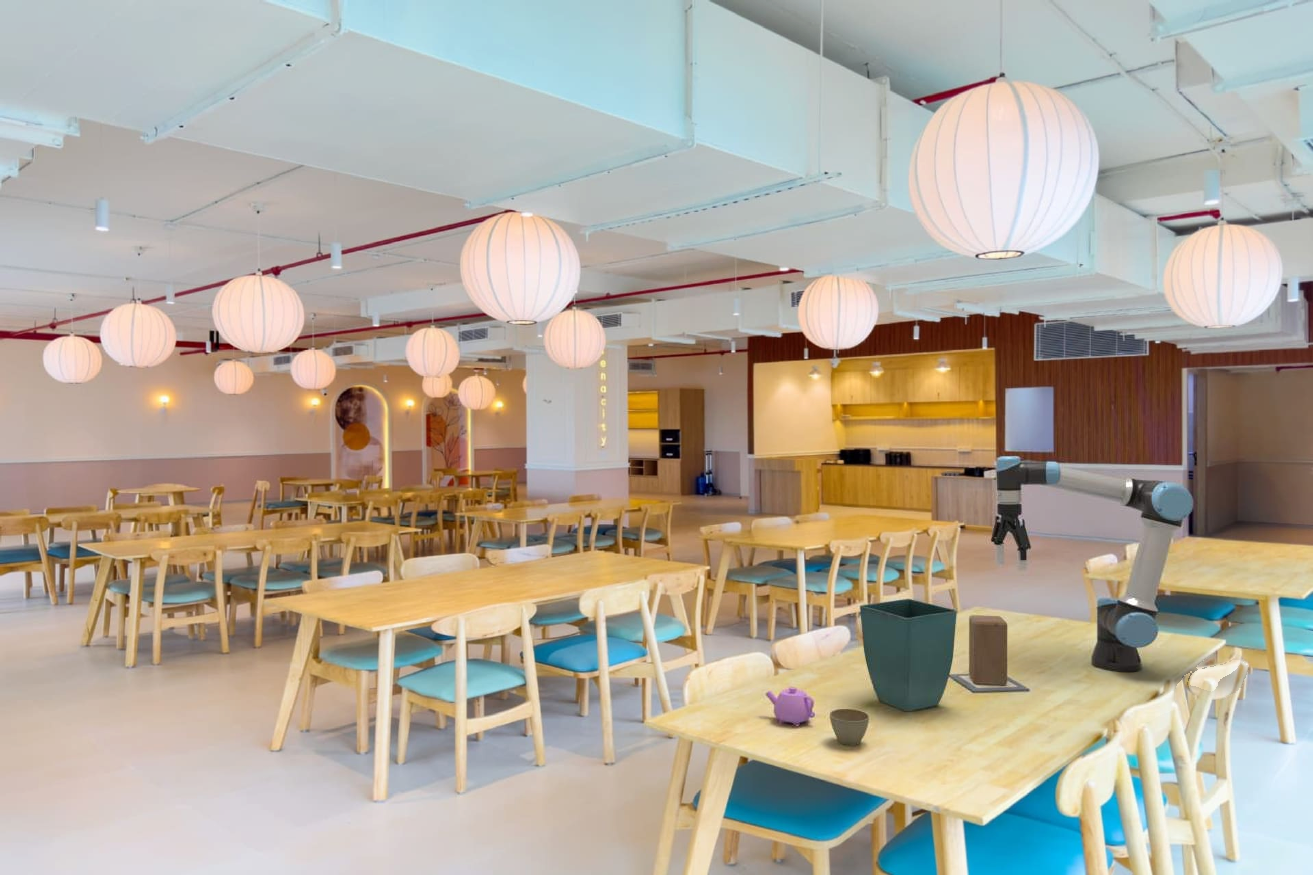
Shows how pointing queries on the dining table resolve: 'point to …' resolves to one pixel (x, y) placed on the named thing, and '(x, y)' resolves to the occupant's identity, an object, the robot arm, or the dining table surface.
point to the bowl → (849, 725)
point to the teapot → (792, 705)
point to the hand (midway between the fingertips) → (1010, 567)
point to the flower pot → (908, 651)
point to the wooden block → (988, 650)
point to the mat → (979, 688)
